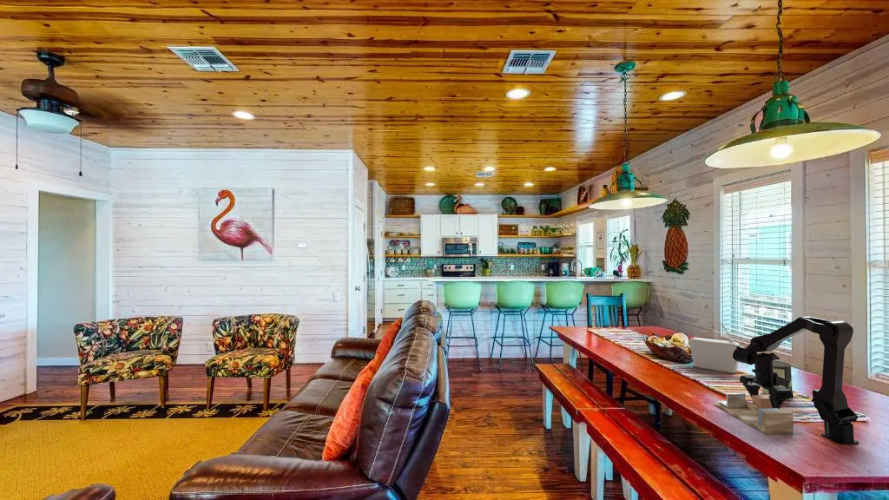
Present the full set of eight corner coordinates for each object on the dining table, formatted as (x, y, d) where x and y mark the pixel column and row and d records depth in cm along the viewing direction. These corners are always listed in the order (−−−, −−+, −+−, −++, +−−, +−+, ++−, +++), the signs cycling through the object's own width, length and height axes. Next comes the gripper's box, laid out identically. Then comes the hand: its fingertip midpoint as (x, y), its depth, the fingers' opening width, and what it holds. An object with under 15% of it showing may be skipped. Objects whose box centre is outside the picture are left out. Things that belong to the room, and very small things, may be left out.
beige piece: (793, 434, 128) (792, 412, 128) (767, 434, 129) (766, 413, 129) (736, 404, 154) (735, 386, 154) (714, 404, 155) (713, 386, 155)
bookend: (745, 407, 148) (745, 393, 148) (728, 407, 148) (727, 394, 148) (734, 401, 154) (734, 388, 154) (717, 402, 154) (717, 388, 154)
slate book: (785, 428, 130) (784, 411, 131) (765, 429, 131) (764, 412, 131) (777, 424, 133) (777, 408, 134) (758, 425, 134) (757, 408, 134)
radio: (742, 371, 195) (740, 323, 195) (739, 375, 189) (737, 326, 189) (693, 363, 211) (691, 319, 211) (689, 366, 205) (687, 321, 205)
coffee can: (782, 391, 166) (780, 360, 166) (799, 400, 156) (797, 367, 156) (756, 390, 168) (754, 359, 168) (771, 399, 158) (769, 366, 158)
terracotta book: (779, 414, 144) (778, 398, 144) (761, 414, 144) (760, 399, 144) (770, 409, 148) (769, 394, 148) (752, 410, 148) (752, 395, 148)
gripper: (807, 375, 137) (809, 417, 137) (764, 361, 156) (766, 398, 155) (776, 376, 137) (778, 418, 137) (738, 361, 156) (739, 398, 156)
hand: (765, 407), depth 146 cm, fingers open, 9 cm apart
